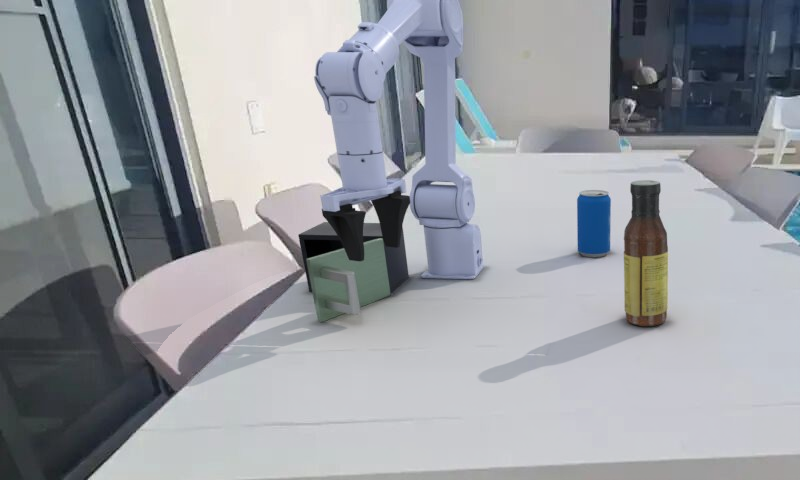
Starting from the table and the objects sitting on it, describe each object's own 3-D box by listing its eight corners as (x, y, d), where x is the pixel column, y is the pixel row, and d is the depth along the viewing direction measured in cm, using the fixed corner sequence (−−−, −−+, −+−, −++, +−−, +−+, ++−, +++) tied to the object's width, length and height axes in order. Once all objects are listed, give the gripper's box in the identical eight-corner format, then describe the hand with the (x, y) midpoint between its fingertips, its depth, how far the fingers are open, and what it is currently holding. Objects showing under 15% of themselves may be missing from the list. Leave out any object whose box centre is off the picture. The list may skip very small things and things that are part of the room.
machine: (390, 294, 104) (382, 236, 100) (309, 292, 104) (297, 234, 100) (409, 278, 112) (402, 223, 108) (333, 276, 112) (324, 221, 108)
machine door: (417, 301, 100) (410, 243, 96) (349, 329, 89) (338, 265, 86) (387, 294, 103) (379, 237, 99) (317, 321, 92) (305, 258, 88)
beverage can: (606, 259, 123) (607, 196, 118) (574, 257, 125) (573, 194, 119) (612, 250, 129) (613, 190, 124) (581, 248, 130) (581, 188, 125)
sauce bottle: (671, 316, 95) (678, 179, 87) (660, 330, 90) (667, 187, 82) (629, 310, 97) (632, 177, 89) (616, 325, 92) (618, 184, 84)
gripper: (345, 161, 77) (362, 270, 82) (419, 147, 89) (429, 243, 95) (300, 158, 79) (320, 264, 85) (377, 145, 91) (390, 239, 97)
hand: (375, 253), depth 90 cm, fingers open, 7 cm apart
